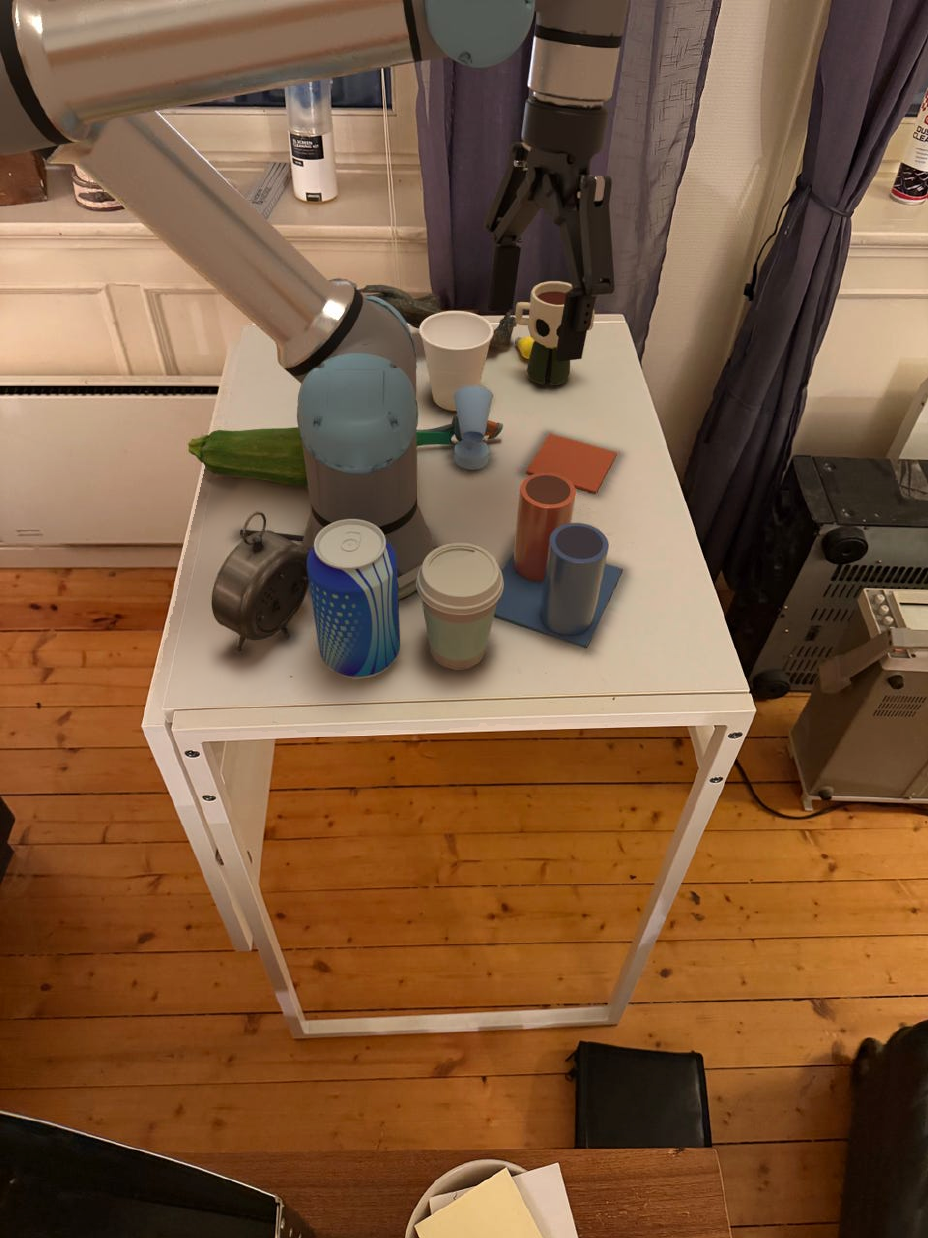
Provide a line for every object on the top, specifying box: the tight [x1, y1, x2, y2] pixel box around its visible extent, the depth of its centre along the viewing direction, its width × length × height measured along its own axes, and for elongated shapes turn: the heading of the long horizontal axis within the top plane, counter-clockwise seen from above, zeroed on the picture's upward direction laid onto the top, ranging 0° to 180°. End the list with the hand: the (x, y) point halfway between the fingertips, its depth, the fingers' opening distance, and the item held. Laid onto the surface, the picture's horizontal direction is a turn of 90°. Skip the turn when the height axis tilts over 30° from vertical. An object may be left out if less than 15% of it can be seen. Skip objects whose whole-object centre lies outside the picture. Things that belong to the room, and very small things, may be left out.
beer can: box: [307, 519, 401, 680], centre depth 86 cm, size 8×8×16 cm
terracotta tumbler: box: [513, 472, 577, 582], centre depth 97 cm, size 6×6×11 cm
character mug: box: [514, 280, 596, 386], centre depth 123 cm, size 11×7×13 cm, turn 83°
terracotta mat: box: [525, 433, 618, 495], centre depth 114 cm, size 10×9×1 cm
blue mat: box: [494, 551, 624, 649], centre depth 98 cm, size 13×13×1 cm
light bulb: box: [514, 335, 535, 360], centre depth 131 cm, size 3×6×4 cm
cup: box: [418, 310, 495, 412], centre depth 119 cm, size 10×10×11 cm
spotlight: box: [453, 385, 494, 471], centre depth 111 cm, size 5×10×7 cm
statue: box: [327, 277, 518, 347], centre depth 127 cm, size 10×6×30 cm
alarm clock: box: [210, 510, 310, 653], centre depth 87 cm, size 11×5×16 cm, turn 148°
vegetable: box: [187, 426, 308, 488], centre depth 108 cm, size 7×7×20 cm
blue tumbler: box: [539, 522, 610, 636], centre depth 91 cm, size 6×6×11 cm
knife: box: [416, 413, 504, 447], centre depth 114 cm, size 20×2×5 cm, turn 105°
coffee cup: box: [416, 542, 504, 671], centre depth 88 cm, size 8×8×12 cm
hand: (532, 333), depth 90 cm, fingers open, 13 cm apart
